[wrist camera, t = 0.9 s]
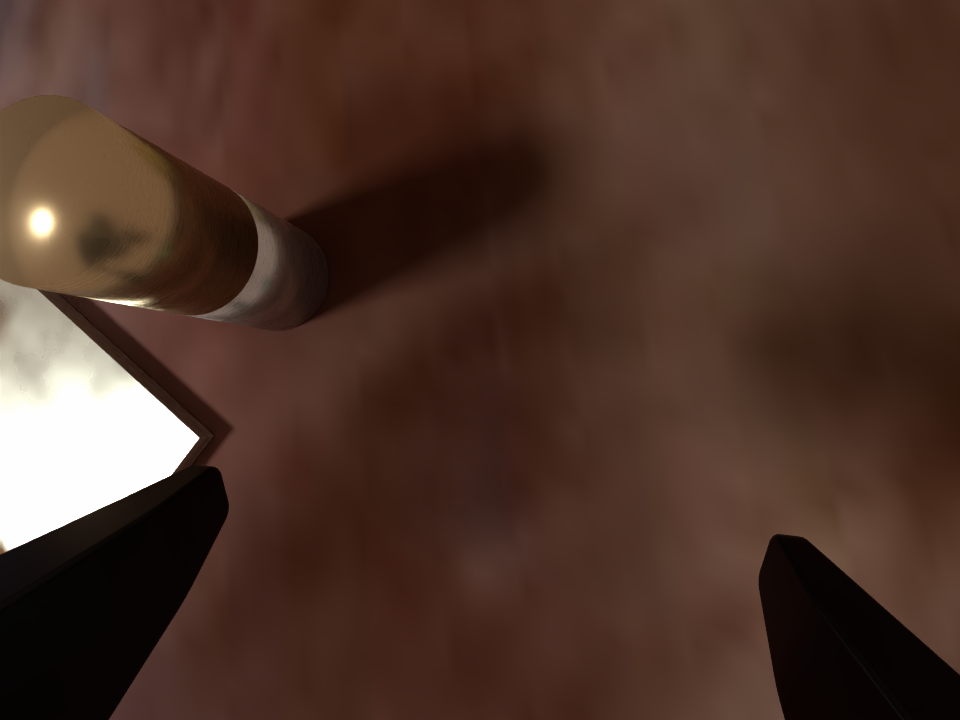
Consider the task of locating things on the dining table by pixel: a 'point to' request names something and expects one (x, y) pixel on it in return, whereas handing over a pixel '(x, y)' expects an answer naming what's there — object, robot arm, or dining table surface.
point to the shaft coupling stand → (76, 419)
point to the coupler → (142, 225)
